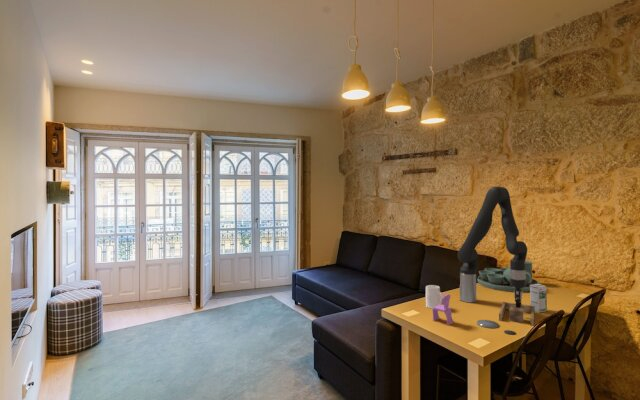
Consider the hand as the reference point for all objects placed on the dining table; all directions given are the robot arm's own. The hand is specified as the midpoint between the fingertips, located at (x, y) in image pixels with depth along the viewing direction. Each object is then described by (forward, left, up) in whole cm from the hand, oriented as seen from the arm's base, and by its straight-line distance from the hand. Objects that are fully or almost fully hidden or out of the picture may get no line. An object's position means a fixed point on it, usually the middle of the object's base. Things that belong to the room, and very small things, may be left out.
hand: (518, 307), depth 190 cm
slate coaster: (-12, -25, -4) cm, 28 cm away
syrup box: (+9, +12, -4) cm, 16 cm away
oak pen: (0, -4, -4) cm, 6 cm away
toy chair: (-33, -32, -4) cm, 46 cm away
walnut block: (0, -11, -4) cm, 12 cm away
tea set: (-11, +65, -5) cm, 66 cm away
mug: (-42, -12, -4) cm, 44 cm away
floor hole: (-2, -31, -4) cm, 31 cm away
